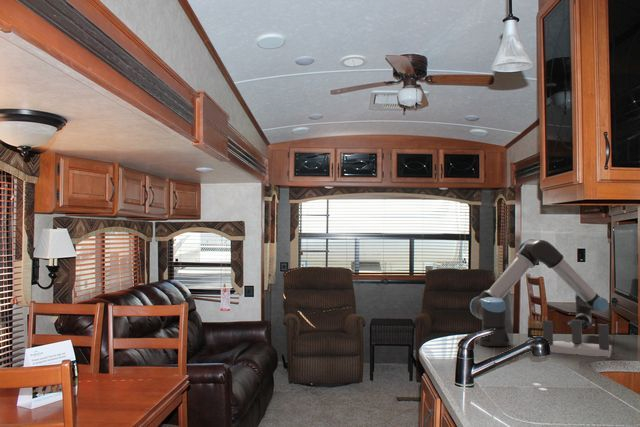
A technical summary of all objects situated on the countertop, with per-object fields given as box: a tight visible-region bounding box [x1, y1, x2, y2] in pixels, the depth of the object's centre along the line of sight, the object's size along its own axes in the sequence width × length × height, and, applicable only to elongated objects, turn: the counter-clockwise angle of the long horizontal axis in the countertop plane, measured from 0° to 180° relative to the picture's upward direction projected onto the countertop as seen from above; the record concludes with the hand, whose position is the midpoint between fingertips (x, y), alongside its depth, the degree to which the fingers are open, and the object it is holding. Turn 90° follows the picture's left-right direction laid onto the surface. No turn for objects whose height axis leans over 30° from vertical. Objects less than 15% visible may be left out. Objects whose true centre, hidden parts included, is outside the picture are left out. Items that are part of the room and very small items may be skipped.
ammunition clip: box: [527, 314, 549, 338], centre depth 293 cm, size 11×2×12 cm, turn 58°
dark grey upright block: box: [571, 318, 583, 344], centre depth 263 cm, size 2×4×11 cm, turn 60°
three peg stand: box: [543, 319, 613, 358], centre depth 259 cm, size 13×29×14 cm, turn 60°
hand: (578, 329), depth 268 cm, fingers closed
